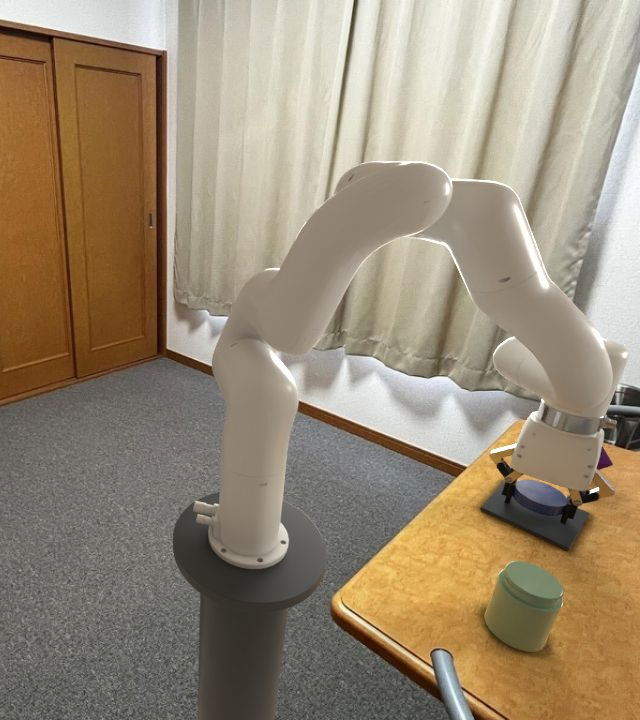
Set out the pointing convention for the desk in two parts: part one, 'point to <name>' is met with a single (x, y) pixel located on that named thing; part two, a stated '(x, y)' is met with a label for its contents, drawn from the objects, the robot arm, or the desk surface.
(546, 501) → the lid
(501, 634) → the jar
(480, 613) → the desk surface
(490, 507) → the plate
